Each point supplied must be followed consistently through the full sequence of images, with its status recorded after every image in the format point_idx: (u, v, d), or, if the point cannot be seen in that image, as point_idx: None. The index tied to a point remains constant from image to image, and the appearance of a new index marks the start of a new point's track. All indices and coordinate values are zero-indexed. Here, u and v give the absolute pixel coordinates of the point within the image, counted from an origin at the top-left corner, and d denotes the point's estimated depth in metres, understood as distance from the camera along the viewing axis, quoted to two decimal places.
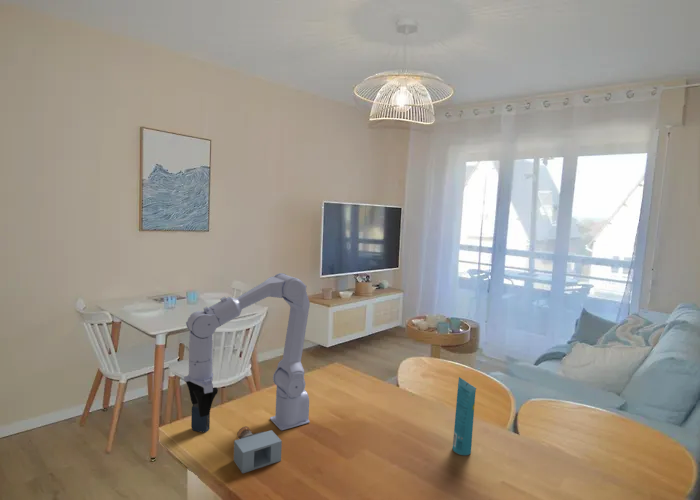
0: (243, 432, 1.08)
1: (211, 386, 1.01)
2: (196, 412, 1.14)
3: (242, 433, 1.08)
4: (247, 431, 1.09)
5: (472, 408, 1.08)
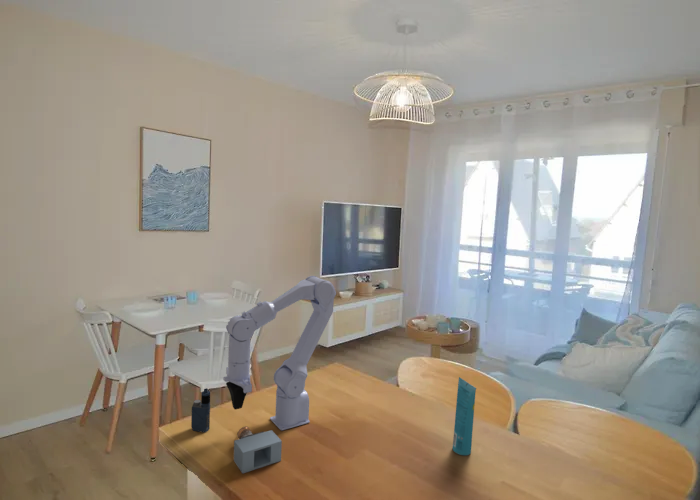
0: (243, 432, 1.08)
1: (250, 386, 1.08)
2: (196, 412, 1.14)
3: (242, 433, 1.08)
4: (247, 431, 1.09)
5: (472, 408, 1.08)
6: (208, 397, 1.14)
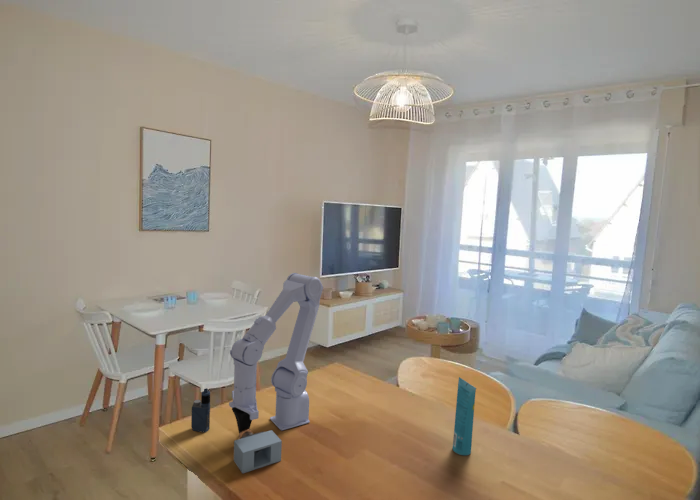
0: (245, 434, 1.07)
1: (257, 413, 1.04)
2: (196, 412, 1.14)
3: (243, 435, 1.07)
4: (249, 433, 1.08)
5: (472, 408, 1.08)
6: (208, 397, 1.14)
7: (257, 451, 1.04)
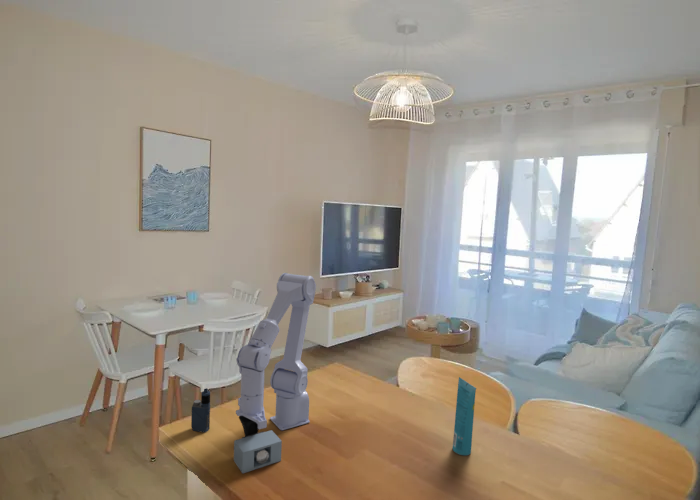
0: None
1: (265, 422, 1.00)
2: (196, 412, 1.14)
3: None
4: None
5: (472, 408, 1.08)
6: (208, 397, 1.14)
7: (265, 461, 1.00)
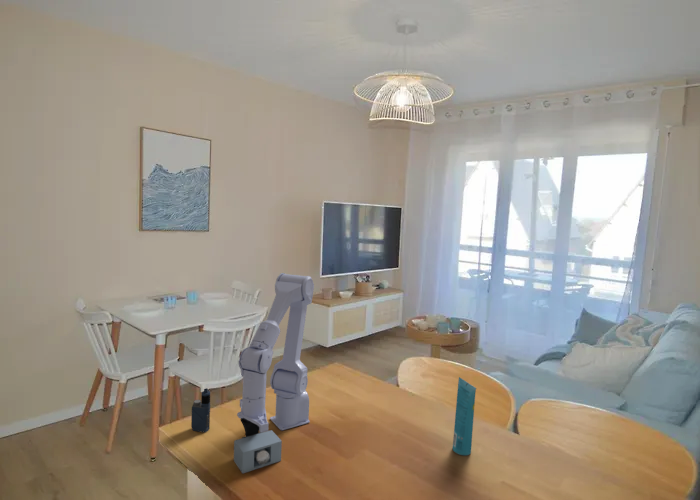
0: None
1: (267, 425, 0.99)
2: (196, 412, 1.14)
3: None
4: None
5: (472, 408, 1.08)
6: (208, 397, 1.14)
7: (265, 462, 1.00)
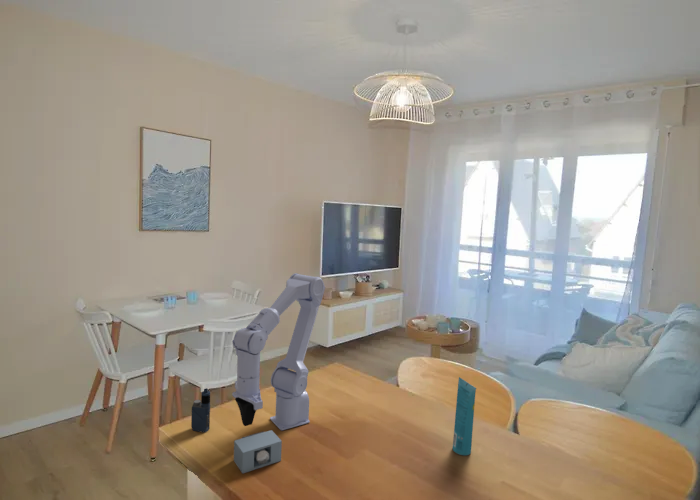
0: None
1: (261, 402, 1.02)
2: (196, 412, 1.14)
3: None
4: None
5: (472, 408, 1.08)
6: (208, 397, 1.14)
7: (265, 461, 1.00)
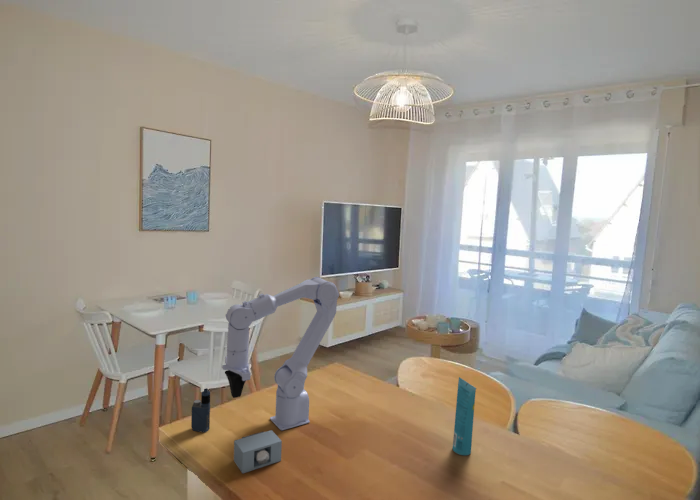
0: None
1: (249, 374, 1.08)
2: (196, 412, 1.14)
3: None
4: None
5: (472, 408, 1.08)
6: (208, 397, 1.14)
7: (265, 461, 1.00)
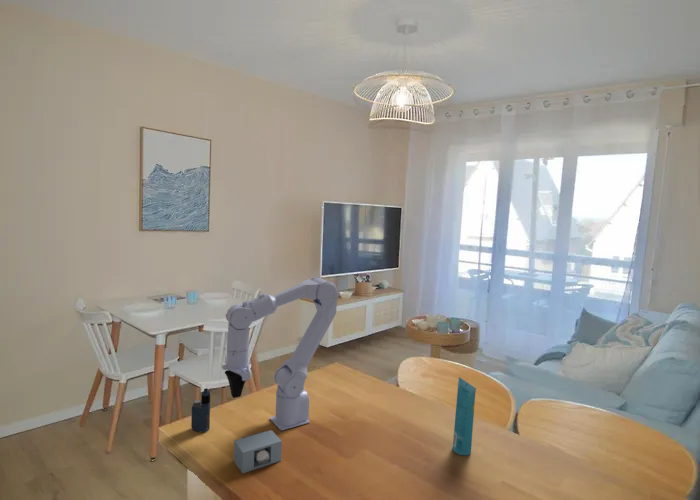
0: None
1: (249, 374, 1.08)
2: (196, 412, 1.14)
3: None
4: None
5: (472, 408, 1.08)
6: (208, 397, 1.14)
7: (265, 461, 1.00)
